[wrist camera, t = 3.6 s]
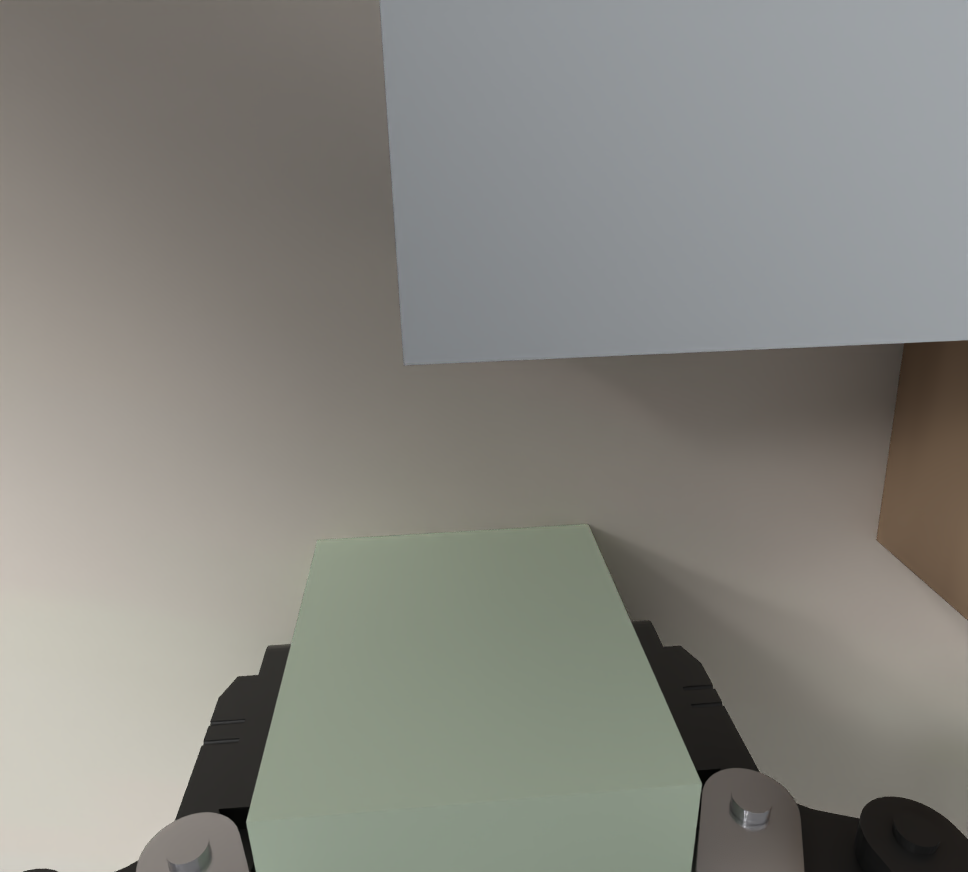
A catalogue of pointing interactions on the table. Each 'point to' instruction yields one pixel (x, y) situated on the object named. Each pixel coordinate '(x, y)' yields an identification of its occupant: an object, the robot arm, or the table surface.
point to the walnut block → (930, 469)
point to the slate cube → (676, 175)
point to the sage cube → (470, 716)
